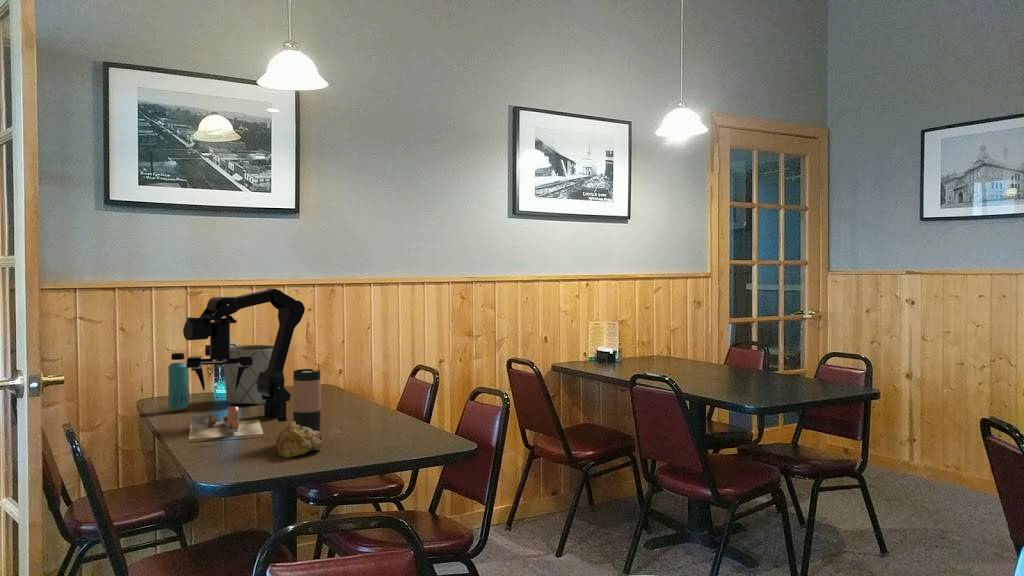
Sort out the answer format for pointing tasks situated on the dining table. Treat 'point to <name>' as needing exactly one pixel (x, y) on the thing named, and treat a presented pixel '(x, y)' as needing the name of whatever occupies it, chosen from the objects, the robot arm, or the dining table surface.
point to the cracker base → (221, 429)
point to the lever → (231, 419)
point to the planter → (246, 374)
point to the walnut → (212, 420)
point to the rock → (298, 440)
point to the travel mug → (307, 398)
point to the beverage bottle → (178, 383)
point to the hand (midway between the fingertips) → (220, 389)
